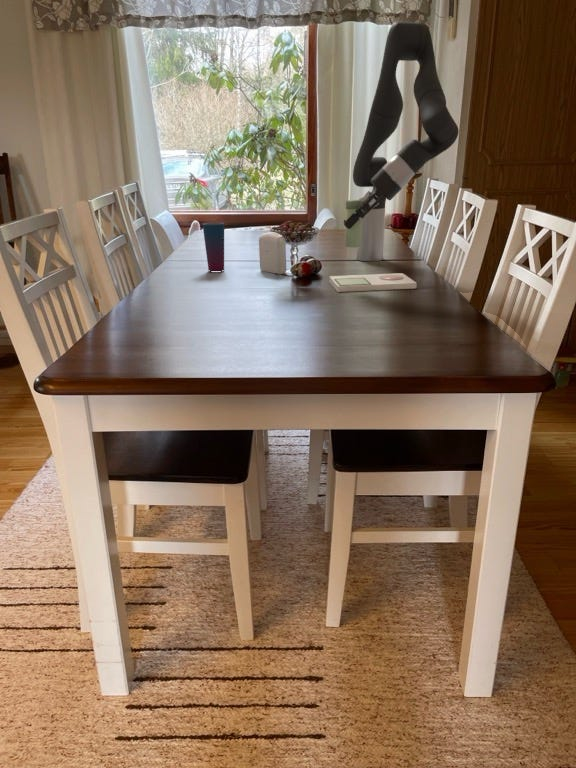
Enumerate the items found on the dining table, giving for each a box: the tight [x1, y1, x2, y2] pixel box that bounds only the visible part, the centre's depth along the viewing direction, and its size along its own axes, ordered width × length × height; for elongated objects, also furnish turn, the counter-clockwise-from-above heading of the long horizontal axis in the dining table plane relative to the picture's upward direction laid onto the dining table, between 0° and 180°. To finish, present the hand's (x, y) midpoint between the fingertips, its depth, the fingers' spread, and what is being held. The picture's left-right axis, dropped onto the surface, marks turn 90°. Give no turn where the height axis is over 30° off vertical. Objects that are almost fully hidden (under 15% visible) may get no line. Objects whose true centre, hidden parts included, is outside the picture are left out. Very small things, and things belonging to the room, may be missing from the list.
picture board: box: [328, 272, 418, 293], centre depth 172 cm, size 14×22×2 cm, turn 96°
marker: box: [344, 199, 362, 248], centre depth 163 cm, size 4×4×12 cm
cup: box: [202, 221, 225, 271], centre depth 193 cm, size 7×7×15 cm
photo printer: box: [258, 231, 287, 275], centre depth 191 cm, size 10×4×12 cm, turn 39°
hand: (346, 225), depth 164 cm, fingers closed on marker, 4 cm apart
